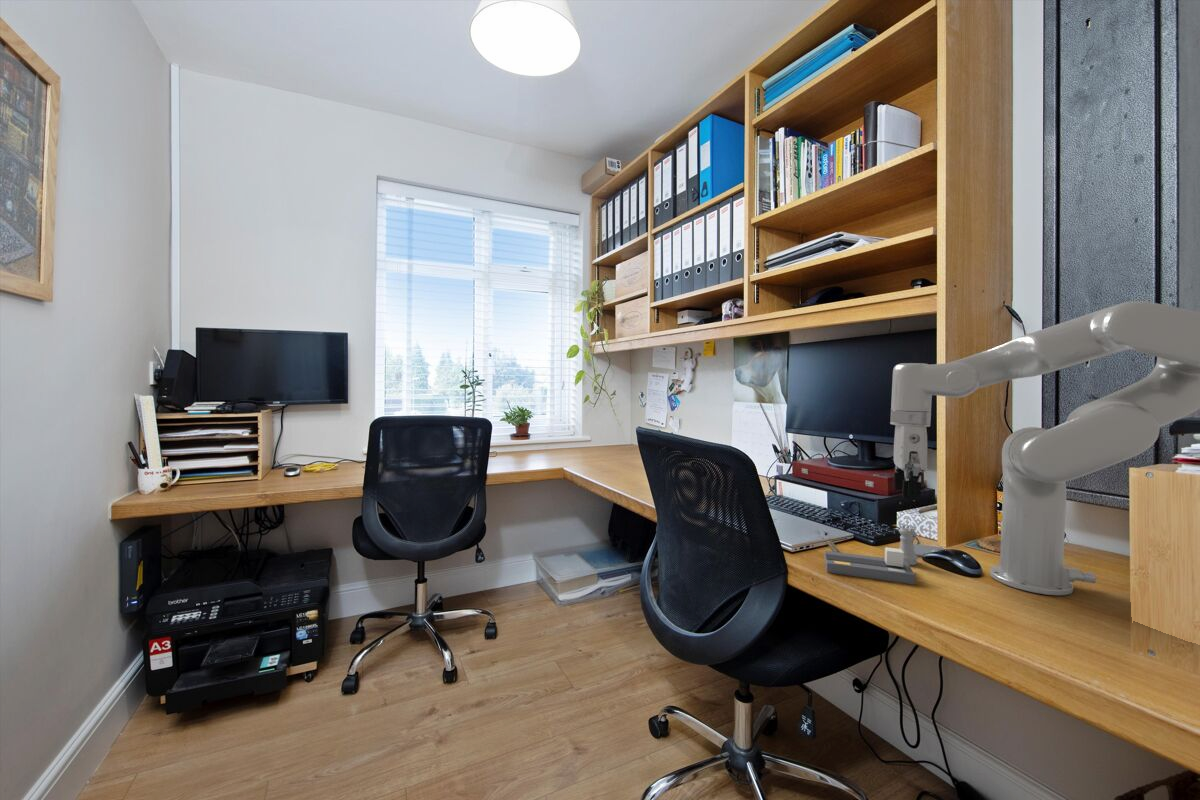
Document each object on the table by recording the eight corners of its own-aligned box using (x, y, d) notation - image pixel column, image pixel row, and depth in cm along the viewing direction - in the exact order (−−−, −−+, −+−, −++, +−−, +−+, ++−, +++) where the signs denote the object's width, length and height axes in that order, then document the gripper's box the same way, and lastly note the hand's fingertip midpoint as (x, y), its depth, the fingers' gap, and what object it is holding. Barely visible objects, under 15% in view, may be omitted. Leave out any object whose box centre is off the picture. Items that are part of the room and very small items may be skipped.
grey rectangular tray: (905, 569, 104) (906, 560, 104) (914, 584, 97) (914, 574, 96) (824, 559, 110) (824, 550, 110) (826, 572, 103) (827, 562, 102)
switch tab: (900, 562, 102) (901, 549, 102) (903, 567, 100) (903, 552, 100) (884, 560, 103) (885, 547, 103) (886, 564, 101) (887, 550, 101)
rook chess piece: (898, 557, 111) (899, 523, 111) (920, 562, 108) (921, 527, 108) (891, 562, 108) (892, 527, 108) (914, 567, 105) (915, 531, 105)
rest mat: (942, 549, 117) (942, 547, 117) (952, 560, 109) (952, 558, 109) (904, 544, 120) (904, 542, 120) (911, 555, 112) (911, 553, 112)
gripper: (941, 423, 97) (936, 506, 98) (920, 416, 113) (916, 488, 114) (898, 421, 100) (894, 501, 101) (884, 415, 116) (880, 484, 117)
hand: (906, 494), depth 108 cm, fingers open, 9 cm apart
